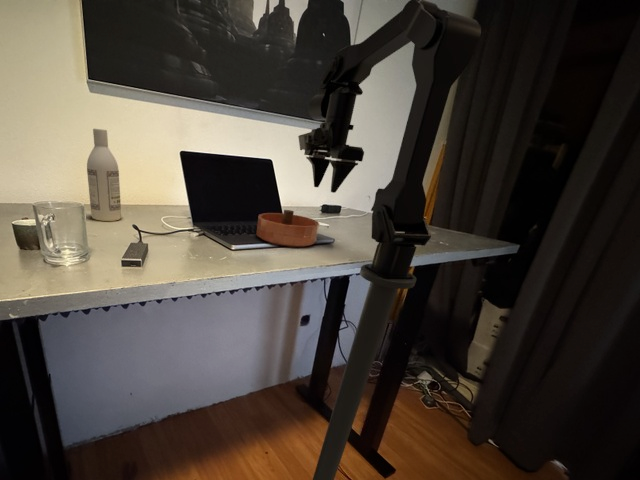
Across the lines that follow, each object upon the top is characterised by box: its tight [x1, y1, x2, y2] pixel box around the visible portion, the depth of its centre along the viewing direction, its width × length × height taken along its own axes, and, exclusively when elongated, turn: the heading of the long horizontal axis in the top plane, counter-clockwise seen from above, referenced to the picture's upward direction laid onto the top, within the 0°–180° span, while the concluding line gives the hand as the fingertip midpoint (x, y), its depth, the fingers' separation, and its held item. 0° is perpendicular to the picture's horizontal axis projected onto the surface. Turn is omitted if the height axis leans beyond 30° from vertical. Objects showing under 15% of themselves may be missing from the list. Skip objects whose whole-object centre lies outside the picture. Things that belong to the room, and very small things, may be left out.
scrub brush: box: [282, 209, 295, 225], centre depth 79 cm, size 7×4×6 cm, turn 14°
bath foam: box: [86, 128, 122, 222], centre depth 77 cm, size 7×7×20 cm
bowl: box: [255, 212, 320, 248], centre depth 79 cm, size 15×15×5 cm
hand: (324, 189), depth 81 cm, fingers open, 9 cm apart
